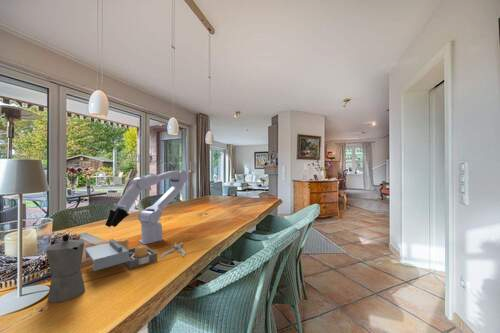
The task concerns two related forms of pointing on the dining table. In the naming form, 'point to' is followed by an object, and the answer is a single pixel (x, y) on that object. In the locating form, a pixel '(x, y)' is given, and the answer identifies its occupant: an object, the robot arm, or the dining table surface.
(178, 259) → the dining table surface
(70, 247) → the coffeepot
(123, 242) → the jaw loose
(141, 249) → the jaw seated
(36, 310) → the dining table surface
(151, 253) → the housing
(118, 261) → the lid
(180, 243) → the hammer
